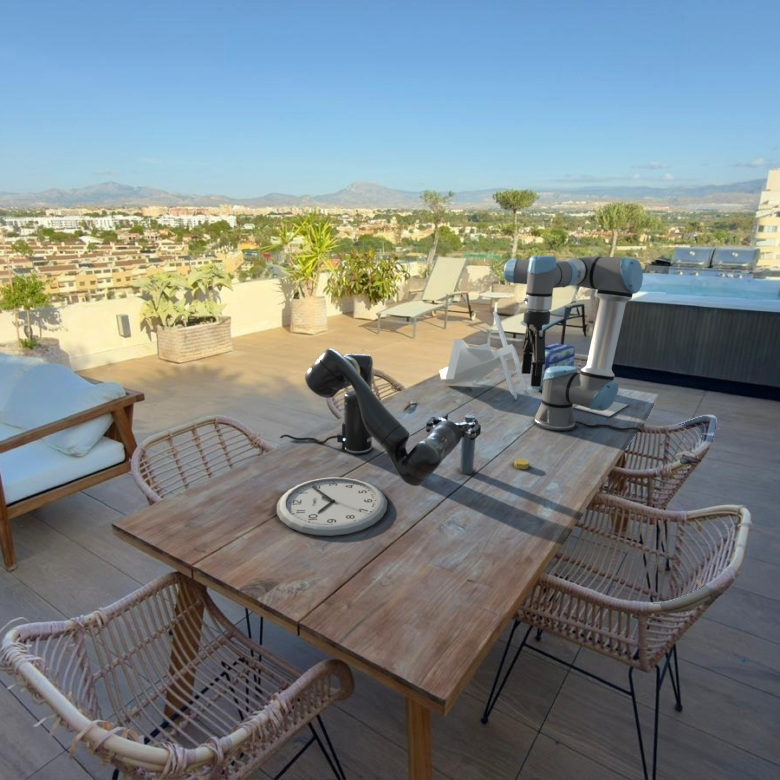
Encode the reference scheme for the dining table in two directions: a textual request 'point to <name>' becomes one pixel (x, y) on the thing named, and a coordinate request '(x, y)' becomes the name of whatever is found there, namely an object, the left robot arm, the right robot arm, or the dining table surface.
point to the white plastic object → (481, 362)
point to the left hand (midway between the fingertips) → (460, 419)
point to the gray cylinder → (467, 450)
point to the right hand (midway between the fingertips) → (530, 379)
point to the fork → (411, 403)
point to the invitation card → (608, 412)
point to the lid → (521, 463)
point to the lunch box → (556, 359)
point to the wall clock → (331, 506)
